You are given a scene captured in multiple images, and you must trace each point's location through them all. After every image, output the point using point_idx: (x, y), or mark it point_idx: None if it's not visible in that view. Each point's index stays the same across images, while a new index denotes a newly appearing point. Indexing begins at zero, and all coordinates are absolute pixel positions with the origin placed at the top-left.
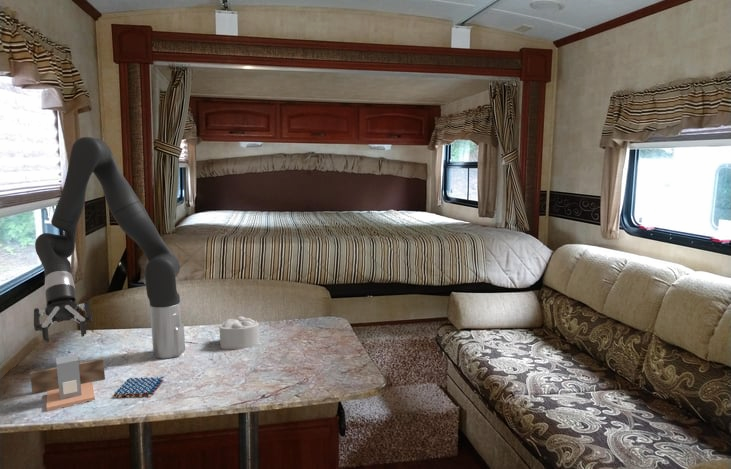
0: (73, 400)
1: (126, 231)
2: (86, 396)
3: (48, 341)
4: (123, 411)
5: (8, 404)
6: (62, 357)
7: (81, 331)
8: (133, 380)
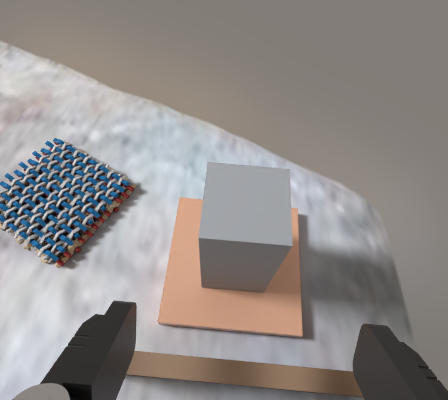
0: None
1: None
2: (197, 213)
3: (359, 348)
4: (143, 117)
5: (407, 333)
6: (264, 233)
7: (126, 308)
8: (52, 227)
